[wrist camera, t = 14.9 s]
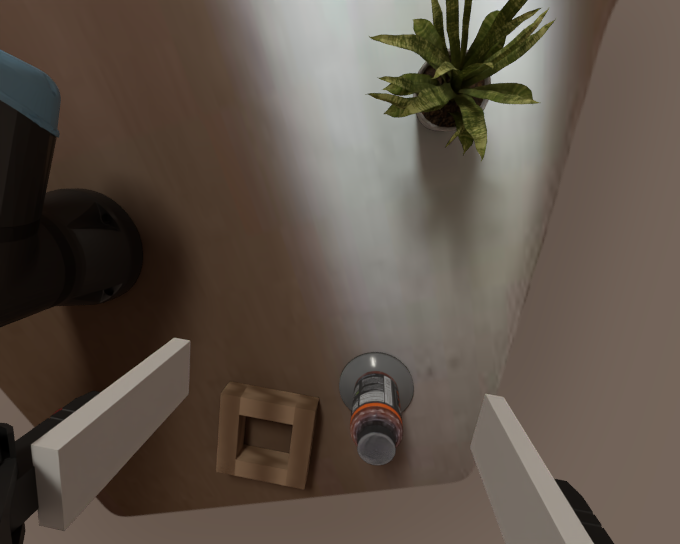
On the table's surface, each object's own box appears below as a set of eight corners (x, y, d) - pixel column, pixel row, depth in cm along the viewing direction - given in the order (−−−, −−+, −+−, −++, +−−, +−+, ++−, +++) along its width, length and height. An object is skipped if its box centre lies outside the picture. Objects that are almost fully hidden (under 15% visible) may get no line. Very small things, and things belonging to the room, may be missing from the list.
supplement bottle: (397, 409, 47) (403, 477, 36) (353, 406, 47) (346, 472, 36) (399, 370, 45) (407, 428, 34) (354, 367, 46) (348, 423, 35)
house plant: (423, -10, 35) (461, -168, 20) (536, 60, 36) (663, -41, 20) (354, 121, 39) (340, 76, 23) (457, 182, 39) (512, 179, 24)
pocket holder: (224, 455, 52) (216, 471, 49) (230, 381, 49) (220, 393, 46) (308, 472, 51) (304, 489, 48) (319, 397, 48) (315, 411, 45)
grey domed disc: (335, 410, 48) (334, 412, 48) (345, 346, 46) (344, 348, 45) (405, 423, 48) (405, 426, 47) (419, 359, 45) (420, 361, 45)
